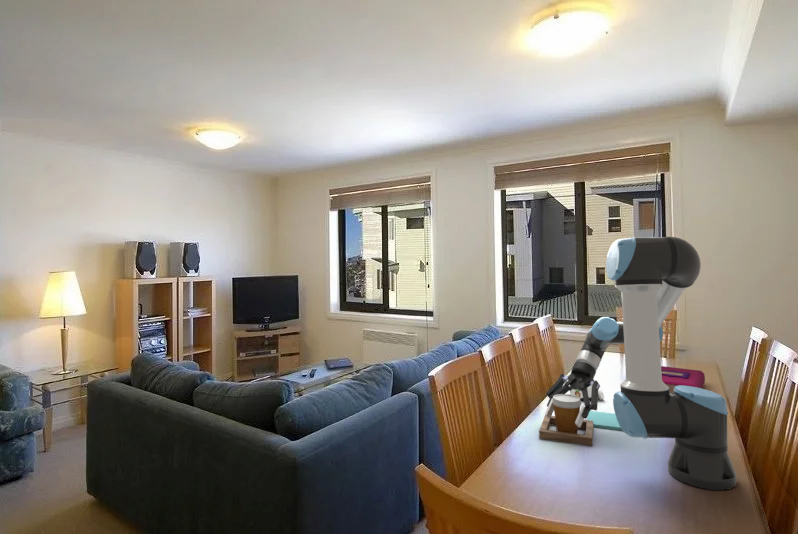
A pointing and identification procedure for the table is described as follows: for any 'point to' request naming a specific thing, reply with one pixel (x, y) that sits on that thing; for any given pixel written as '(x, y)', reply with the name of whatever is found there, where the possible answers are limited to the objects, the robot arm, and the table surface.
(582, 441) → the pocket frame
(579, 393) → the spread jar
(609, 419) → the mat
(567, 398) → the disposable coffee cup
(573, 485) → the table surface
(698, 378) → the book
